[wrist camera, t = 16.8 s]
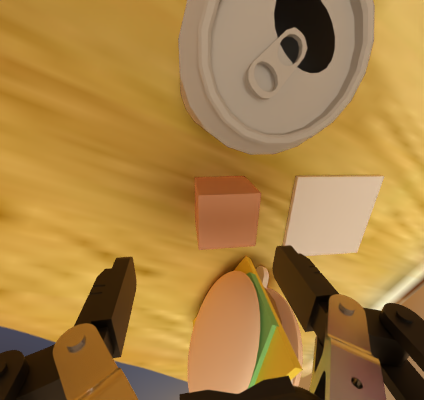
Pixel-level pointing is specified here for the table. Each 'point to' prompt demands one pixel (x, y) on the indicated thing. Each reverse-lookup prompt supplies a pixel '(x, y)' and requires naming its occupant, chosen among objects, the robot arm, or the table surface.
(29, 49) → the table surface
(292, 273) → the robot arm
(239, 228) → the block
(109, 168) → the table surface
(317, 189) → the pad
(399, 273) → the table surface
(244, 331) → the hamburger
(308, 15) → the can
